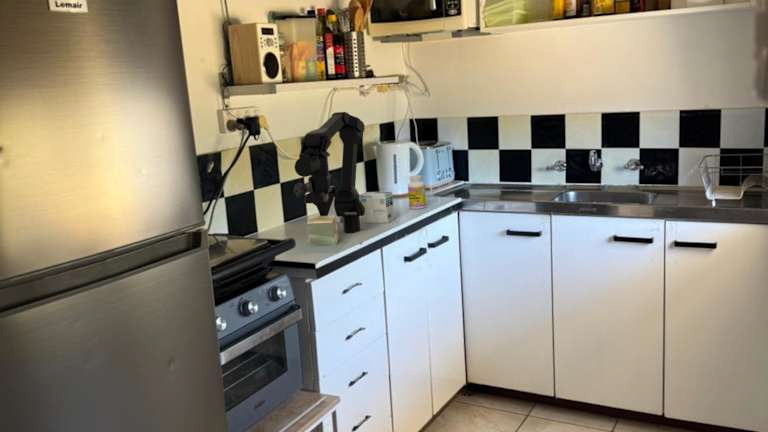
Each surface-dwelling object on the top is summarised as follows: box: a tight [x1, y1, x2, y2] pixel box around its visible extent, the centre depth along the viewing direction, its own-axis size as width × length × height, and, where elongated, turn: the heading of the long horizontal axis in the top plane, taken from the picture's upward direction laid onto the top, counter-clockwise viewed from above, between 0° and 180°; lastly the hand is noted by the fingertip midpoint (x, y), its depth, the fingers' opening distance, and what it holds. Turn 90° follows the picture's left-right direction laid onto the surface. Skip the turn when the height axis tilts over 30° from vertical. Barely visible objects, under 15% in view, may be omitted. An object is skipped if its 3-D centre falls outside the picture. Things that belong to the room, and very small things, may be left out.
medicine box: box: [328, 196, 343, 224], centre depth 271 cm, size 8×4×9 cm, turn 170°
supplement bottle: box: [407, 174, 427, 210], centre depth 285 cm, size 7×7×13 cm
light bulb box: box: [359, 190, 396, 224], centre depth 263 cm, size 11×7×11 cm, turn 66°
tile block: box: [306, 215, 340, 246], centre depth 226 cm, size 5×8×8 cm, turn 79°
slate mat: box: [292, 240, 350, 255], centre depth 223 cm, size 16×14×1 cm
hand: (324, 221), depth 227 cm, fingers closed
